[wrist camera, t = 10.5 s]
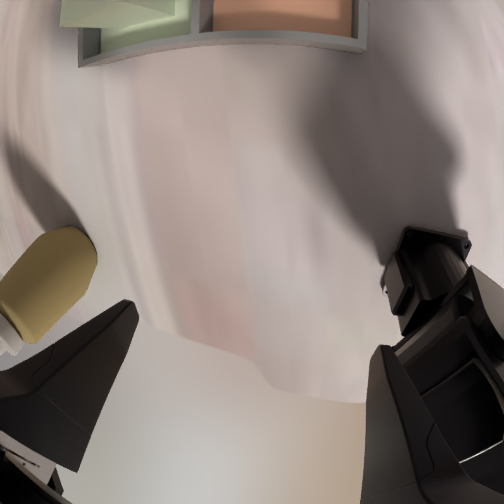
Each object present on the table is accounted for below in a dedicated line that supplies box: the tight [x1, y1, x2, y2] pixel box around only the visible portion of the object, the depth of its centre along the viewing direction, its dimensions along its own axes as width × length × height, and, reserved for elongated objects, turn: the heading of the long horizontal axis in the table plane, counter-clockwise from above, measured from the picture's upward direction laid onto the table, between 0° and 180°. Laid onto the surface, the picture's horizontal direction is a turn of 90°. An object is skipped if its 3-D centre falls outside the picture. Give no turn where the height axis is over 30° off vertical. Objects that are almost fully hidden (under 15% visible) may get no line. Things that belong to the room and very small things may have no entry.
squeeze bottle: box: [0, 226, 97, 356], centre depth 20 cm, size 8×8×18 cm
